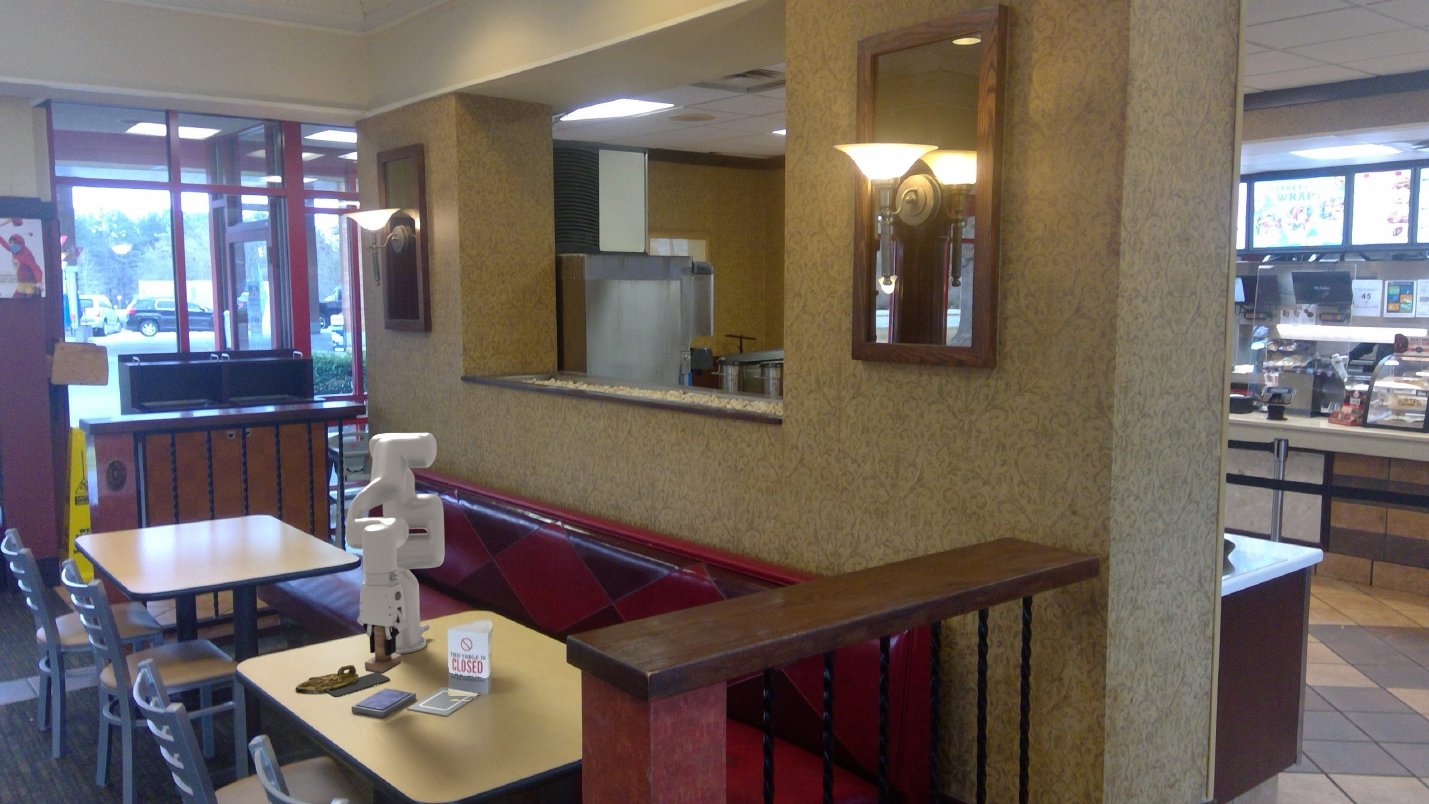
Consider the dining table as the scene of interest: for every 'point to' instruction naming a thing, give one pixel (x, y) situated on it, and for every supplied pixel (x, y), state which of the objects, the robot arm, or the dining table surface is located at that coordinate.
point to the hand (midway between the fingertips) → (383, 651)
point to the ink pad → (383, 703)
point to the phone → (360, 684)
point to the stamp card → (440, 703)
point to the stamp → (381, 654)
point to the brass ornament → (329, 681)
